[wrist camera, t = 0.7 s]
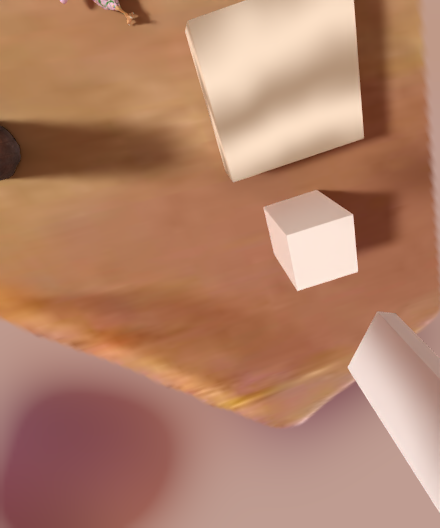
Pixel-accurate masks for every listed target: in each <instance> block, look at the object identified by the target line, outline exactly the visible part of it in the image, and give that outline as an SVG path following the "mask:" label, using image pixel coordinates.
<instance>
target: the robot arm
mask: <svg viewBox="0 0 440 528" xmlns="http://www.w3.org/2000/svg"><path fill="white" fill-rule="evenodd" d="M348 369H349V371H350V372H351V374H352V376H353V377H354V379H355V380H356V382H357V383H358V385H359V387H360V388H361V390H362V391H363V393H364V394H365V396H366V398H367V399H368V401H369V402H370V404H371V406H372V407H373V409H374V410H375V412H376V413H377V415H378V417H379V418H380V420H381V421H382V423H383V424H384V426H385V428H386V429H387V431H388V432H389V434H390V435H391V437H392V439H393V440H394V442H395V443H396V445H397V446H398V448H399V450H400V451H401V452H402V454H403V456H404V457H405V459H406V461H407V462H408V464H409V465H410V467H411V468H412V470H413V472H414V473H415V475H416V476H417V478H418V479H419V481H420V482H421V484H422V486H423V487H424V489H425V490H426V492H427V493H428V495H429V497H430V498H431V500H432V501H433V503H434V505H435V506H436V508H437V509H438V511H439V512H440V358H439V357H438V356H437V355H436V354H435V353H434V352H433V351H432V350H431V349H430V348H429V347H428V346H427V345H426V344H425V343H424V342H423V341H422V340H421V339H420V338H419V337H418V336H417V335H416V334H415V333H414V332H413V331H412V330H411V329H410V328H409V327H408V325H407V324H406V323H405V322H404V321H403V320H402V319H401V318H400V317H399V316H398V315H397V314H396V313H388V312H378V311H377V313H376V315H375V317H374V318H373V320H372V322H371V324H370V326H369V328H368V330H367V332H366V334H365V336H364V337H363V339H362V341H361V343H360V345H359V347H358V349H357V351H356V353H355V355H354V356H353V358H352V360H351V362H350V364H349V366H348Z"/></svg>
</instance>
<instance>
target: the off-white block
mask: <svg viewBox="0 0 440 528" xmlns="http://www.w3.org/2000/svg"><path fill="white" fill-rule="evenodd" d="M264 212H265V216H266V220H267V225H268V229H269V234H270V238H271V242H272V247H273V251H274V255H275V256H276V258H277V259H278V261H279V263H280V264H281V266H282V267H283V269H284V270H285V272H286V274H287V275H288V277H289V278H290V280H291V281H292V283H293V285H294V286H295V288H296V289H297V291H299V290H302V289H305V288H308V287H311V286H314V285H318V284H321V283H324V282H327V281H330V280H333V279H337V278H340V277H343V276H346V275H349V274H352V273H356V272H358V265H357V253H356V242H355V230H354V218H353V214H352V213H350V212H349V211H347V210H346V209H344V208H343V207H341V206H340V205H339V204H337V203H336V202H334V201H333V200H331V199H330V198H328V197H327V196H325V195H324V194H322V193H321V192H319V191H318V190H315V191H312V192H309V193H305V194H302V195H299V196H296V197H293V198H290V199H287V200H284V201H281V202H277V203H274V204H271V205H268V206H265V207H264Z"/></svg>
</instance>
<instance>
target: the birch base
mask: <svg viewBox="0 0 440 528" xmlns="http://www.w3.org/2000/svg"><path fill="white" fill-rule="evenodd" d="M185 33H186V36H187V40H188V43H189V46H190V50H191V53H192V57H193V60H194V64H195V67H196V71H197V74H198V78H199V81H200V85H201V88H202V91H203V95H204V98H205V102H206V105H207V109H208V112H209V116H210V119H211V123H212V126H213V130H214V133H215V136H216V140H217V143H218V147H219V150H220V154H221V157H222V161H223V164H224V168H225V171H226V173H227V174H228V175H229V177H230V178H231V180H232V181H233V182H236V181H239V180H242V179H245V178H248V177H251V176H254V175H257V174H260V173H263V172H266V171H269V170H271V169H274V168H277V167H280V166H283V165H286V164H289V163H292V162H295V161H298V160H301V159H304V158H307V157H310V156H313V155H316V154H319V153H322V152H325V151H328V150H331V149H334V148H337V147H340V146H343V145H346V144H349V143H352V142H354V141H357V140H360V139H363V138H364V131H363V117H362V104H361V90H360V77H359V64H358V50H357V37H356V23H355V10H354V0H245V1H242V2H240V3H237V4H234V5H231V6H228V7H225V8H222V9H220V10H217V11H214V12H211V13H208V14H205V15H202V16H200V17H197V18H194V19H191V20H188V21H187V25H186V30H185Z"/></svg>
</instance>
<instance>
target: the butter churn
mask: <svg viewBox="0 0 440 528" xmlns="http://www.w3.org/2000/svg"><path fill="white" fill-rule="evenodd" d="M20 159H21V155H20V147H19V144H17V142H16V140H15V138H13V136H12V135H11V134H10V133H9V132H8V131H7V130H6V129H5V128H3V127H2V126H0V180H3V179H6V178H9V177H11V176H12V175H13V174H14V172H15V169H16V166H17V165H18V164H19V162H20Z"/></svg>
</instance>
